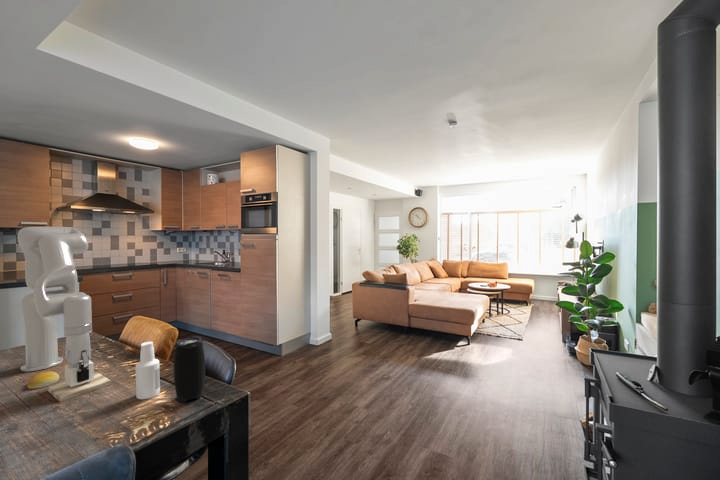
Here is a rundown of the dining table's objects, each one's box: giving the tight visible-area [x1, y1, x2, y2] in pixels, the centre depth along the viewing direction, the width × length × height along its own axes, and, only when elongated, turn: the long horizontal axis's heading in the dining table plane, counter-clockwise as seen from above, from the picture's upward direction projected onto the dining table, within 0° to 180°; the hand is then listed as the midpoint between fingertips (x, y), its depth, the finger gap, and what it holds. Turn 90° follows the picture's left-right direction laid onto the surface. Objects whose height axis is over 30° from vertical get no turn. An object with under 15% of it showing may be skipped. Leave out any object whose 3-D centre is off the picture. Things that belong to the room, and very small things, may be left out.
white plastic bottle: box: [134, 341, 161, 400], centre depth 107 cm, size 7×7×18 cm
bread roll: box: [26, 370, 60, 390], centre depth 116 cm, size 8×9×4 cm
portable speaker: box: [173, 335, 206, 404], centre depth 105 cm, size 9×9×20 cm
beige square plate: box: [47, 371, 112, 403], centre depth 112 cm, size 14×14×6 cm
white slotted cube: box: [64, 359, 95, 387], centre depth 112 cm, size 6×6×6 cm
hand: (79, 378), depth 112 cm, fingers closed on white slotted cube, 6 cm apart
